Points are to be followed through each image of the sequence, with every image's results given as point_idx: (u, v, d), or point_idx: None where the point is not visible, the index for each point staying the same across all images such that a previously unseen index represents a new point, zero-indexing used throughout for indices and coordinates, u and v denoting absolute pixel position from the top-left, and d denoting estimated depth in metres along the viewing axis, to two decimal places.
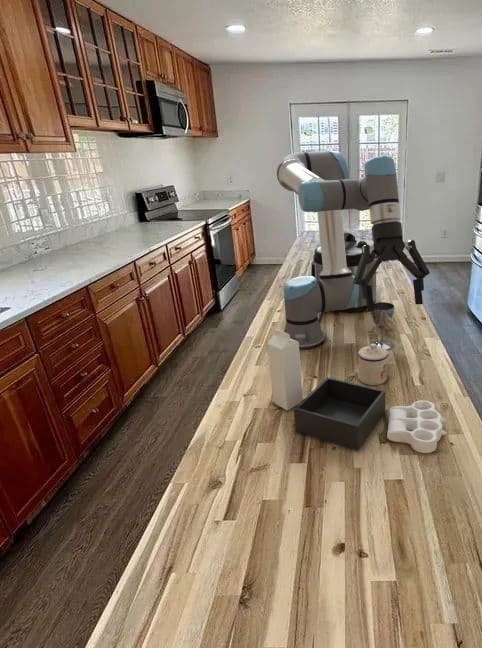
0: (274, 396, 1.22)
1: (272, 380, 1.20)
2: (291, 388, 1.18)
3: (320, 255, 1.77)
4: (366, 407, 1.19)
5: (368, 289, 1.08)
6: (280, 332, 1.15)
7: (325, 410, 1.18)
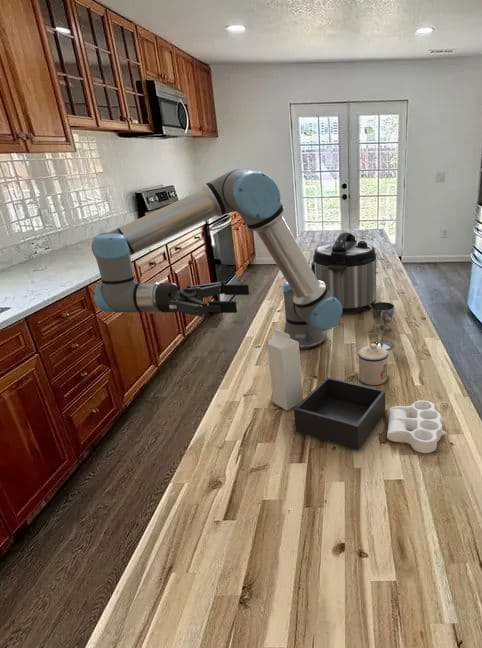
0: (274, 396, 1.22)
1: (272, 380, 1.20)
2: (291, 388, 1.18)
3: (320, 255, 1.77)
4: (366, 407, 1.19)
5: None
6: (280, 332, 1.15)
7: (325, 410, 1.18)
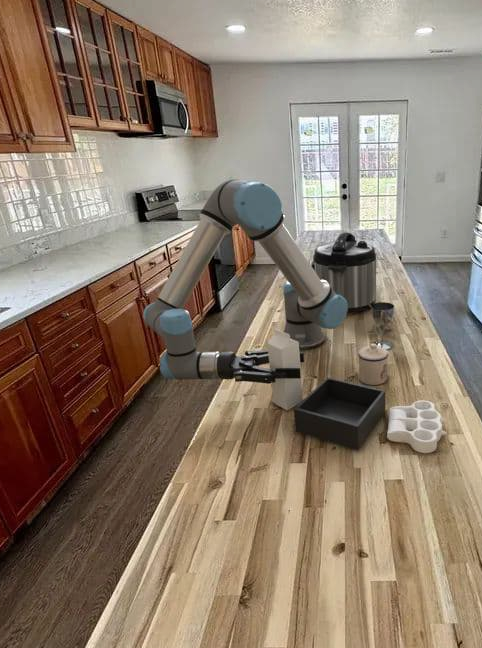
0: (274, 396, 1.22)
1: None
2: (291, 388, 1.18)
3: (320, 255, 1.77)
4: (366, 407, 1.19)
5: None
6: (280, 332, 1.15)
7: (325, 410, 1.18)
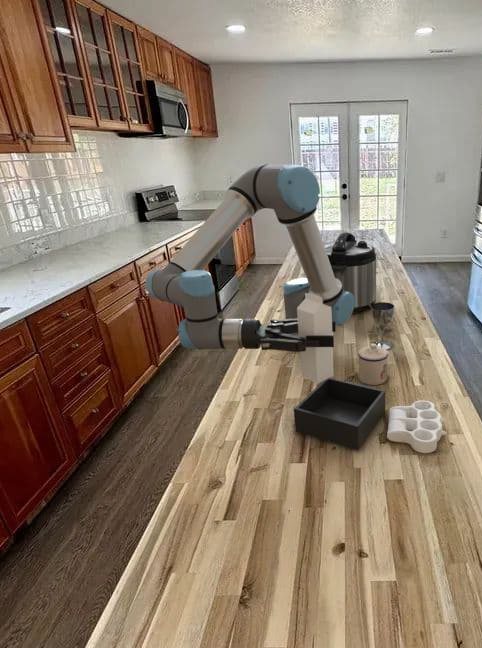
0: (302, 368, 1.11)
1: None
2: (322, 359, 1.07)
3: None
4: (366, 407, 1.19)
5: None
6: (311, 296, 1.04)
7: (325, 410, 1.18)
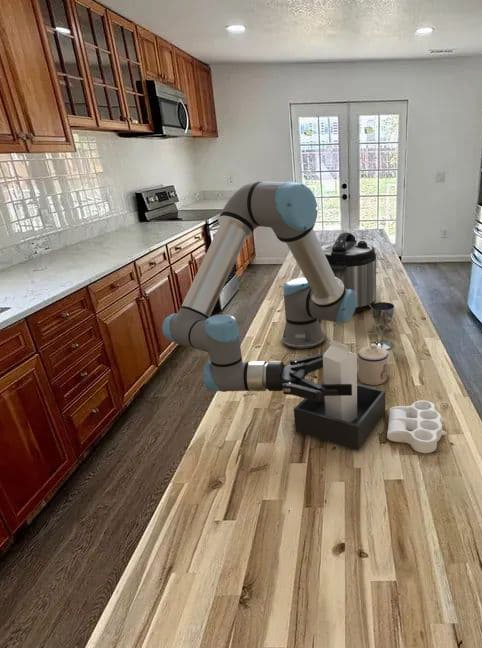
0: (327, 412, 1.12)
1: None
2: (346, 404, 1.09)
3: None
4: (366, 407, 1.19)
5: None
6: (337, 343, 1.05)
7: None
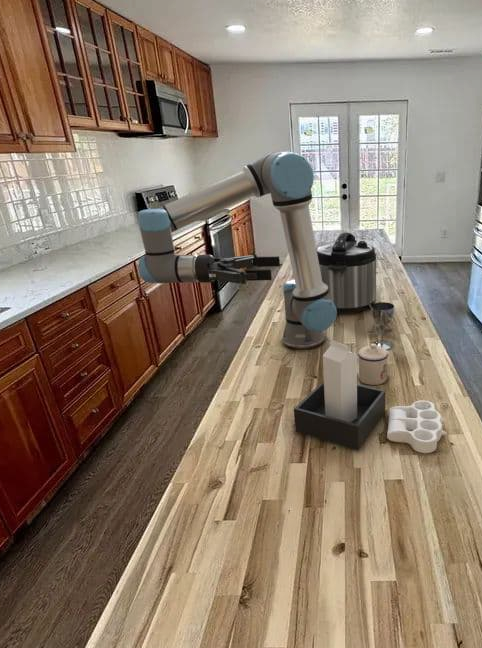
0: (327, 412, 1.12)
1: (325, 395, 1.10)
2: (346, 404, 1.09)
3: (320, 255, 1.77)
4: (366, 407, 1.19)
5: None
6: (337, 343, 1.05)
7: None
